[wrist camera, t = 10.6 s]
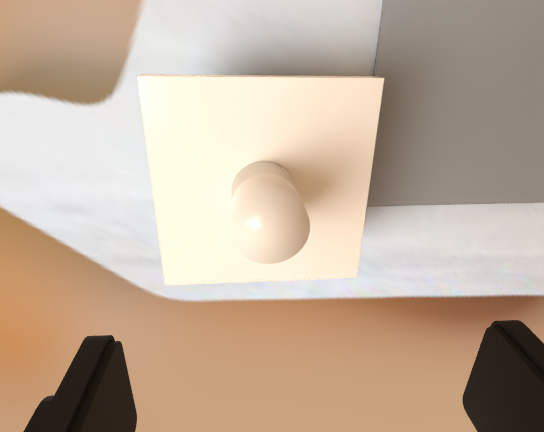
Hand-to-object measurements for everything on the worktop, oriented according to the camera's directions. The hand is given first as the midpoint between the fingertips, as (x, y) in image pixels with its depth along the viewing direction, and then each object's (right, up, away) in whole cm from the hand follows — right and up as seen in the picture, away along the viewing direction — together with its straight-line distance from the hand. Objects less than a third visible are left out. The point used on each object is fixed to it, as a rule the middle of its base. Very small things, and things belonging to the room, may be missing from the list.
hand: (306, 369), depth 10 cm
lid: (-1, +6, +12) cm, 13 cm away
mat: (+14, +12, +17) cm, 25 cm away
